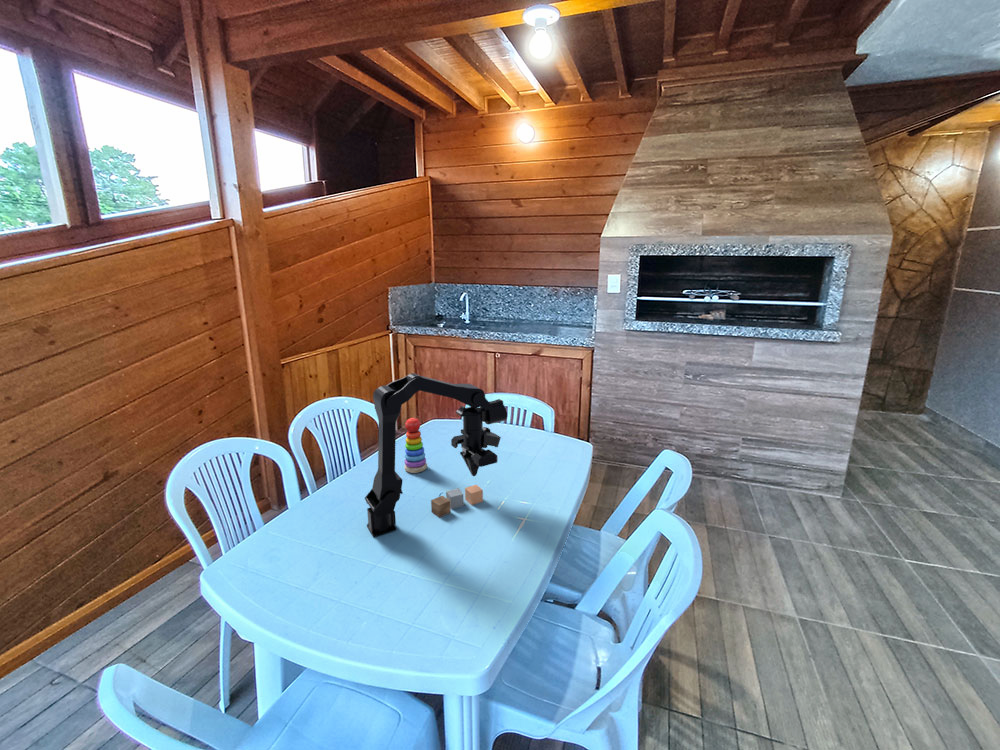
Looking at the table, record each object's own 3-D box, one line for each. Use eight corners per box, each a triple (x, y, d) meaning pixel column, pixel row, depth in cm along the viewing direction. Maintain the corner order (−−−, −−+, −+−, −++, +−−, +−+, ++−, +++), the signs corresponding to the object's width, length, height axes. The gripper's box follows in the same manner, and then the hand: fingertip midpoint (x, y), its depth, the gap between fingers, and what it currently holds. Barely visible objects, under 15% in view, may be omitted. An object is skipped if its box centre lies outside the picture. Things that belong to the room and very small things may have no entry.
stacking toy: (429, 464, 170) (427, 414, 166) (424, 474, 163) (421, 423, 158) (408, 463, 171) (405, 414, 166) (401, 473, 163) (398, 422, 159)
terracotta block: (471, 505, 143) (471, 493, 142) (465, 499, 146) (464, 487, 145) (482, 501, 145) (482, 489, 144) (476, 496, 148) (476, 484, 147)
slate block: (451, 509, 141) (450, 497, 140) (446, 503, 144) (446, 491, 143) (463, 506, 143) (463, 494, 142) (458, 500, 146) (458, 488, 145)
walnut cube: (439, 517, 136) (438, 505, 135) (431, 512, 139) (431, 500, 138) (450, 512, 139) (450, 500, 138) (442, 507, 142) (442, 495, 141)
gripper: (513, 431, 136) (513, 481, 140) (481, 413, 151) (482, 458, 155) (479, 439, 130) (480, 491, 134) (449, 419, 146) (451, 466, 150)
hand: (474, 475), depth 144 cm, fingers closed
